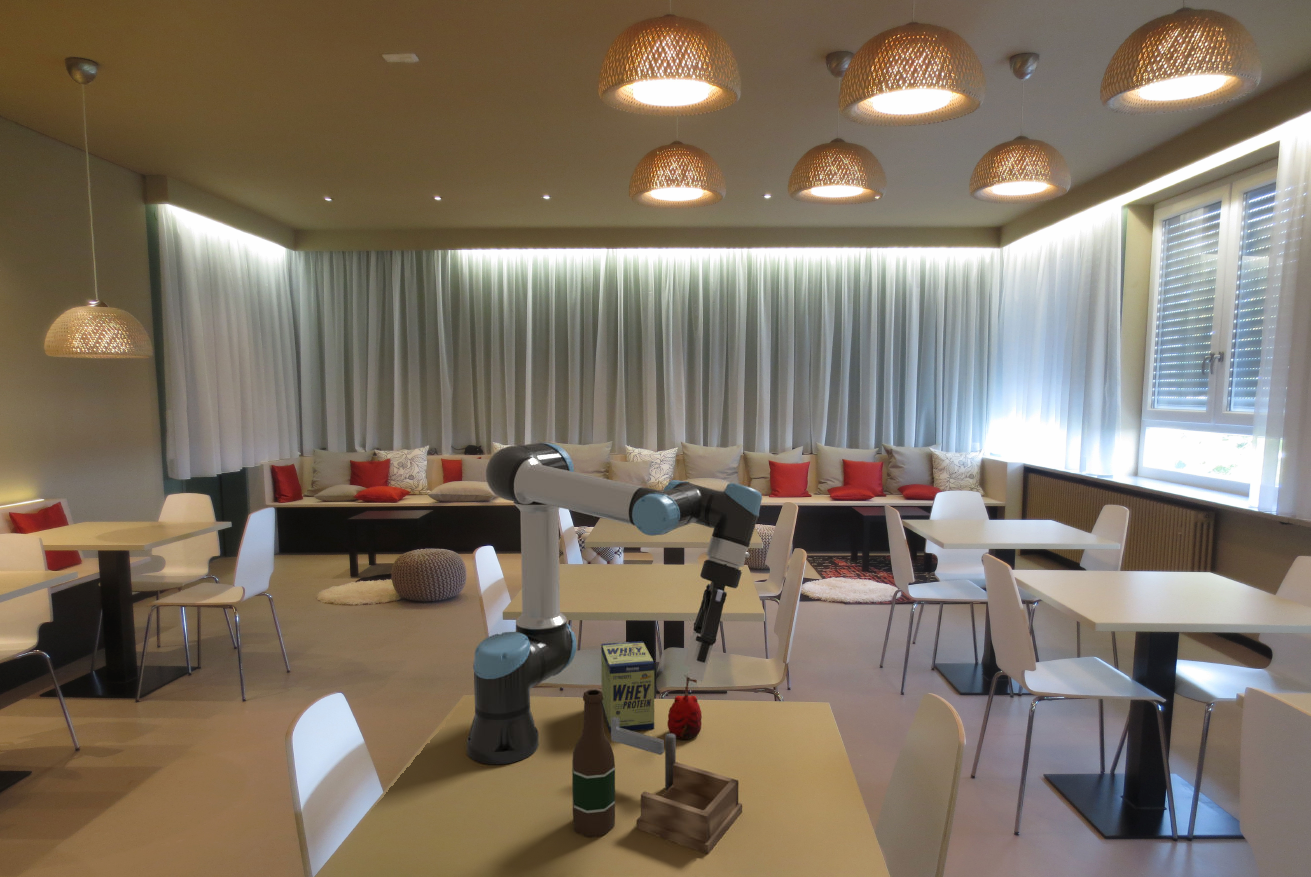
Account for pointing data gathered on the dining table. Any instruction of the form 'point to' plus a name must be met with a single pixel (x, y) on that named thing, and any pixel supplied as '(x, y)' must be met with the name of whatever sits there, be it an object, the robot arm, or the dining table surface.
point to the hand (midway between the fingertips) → (692, 672)
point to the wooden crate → (690, 804)
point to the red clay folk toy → (685, 715)
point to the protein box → (628, 685)
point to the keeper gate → (635, 738)
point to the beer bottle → (593, 773)
